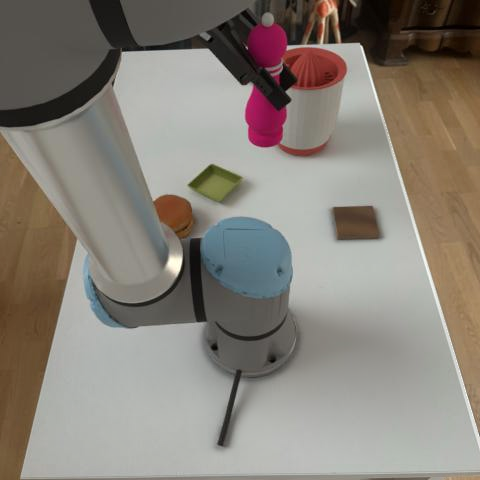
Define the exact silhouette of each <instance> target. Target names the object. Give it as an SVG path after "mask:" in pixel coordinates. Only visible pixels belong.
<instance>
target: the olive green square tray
mask: <svg viewBox="0 0 480 480" xmlns="http://www.w3.org/2000/svg"><path fill="white" fill-rule="evenodd" d="M242 180H243V176H241V175H240V174H237V173H235V172H232V171H230V170H228V169H226V168H223V167H221V166H219V165H217V164H215V163H210V164H209V165H207V166H206V167H205V168H204V169H203V170H202V171H201V172H200V173H198V174H197V175H196V176H195V177H194V178H193V179H192V180H191V181H189V182H188V183H187V187H188V188H189V189H190V190H192V191H193V192H196V193H197V194H200V195H202V196H204V197H206V198H208V199H210V200H212V201H214V202H216V203H220V202H222V200H224V198H225V197H227V196H228V195H229V194H230V193H231V192H232V191H233V190H234V189H235V187H237V186H238V185H239V184H240V183H241V182H242Z"/></svg>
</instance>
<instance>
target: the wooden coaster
mask: <svg viewBox="0 0 480 480" xmlns="http://www.w3.org/2000/svg"><path fill="white" fill-rule="evenodd" d="M331 211H332V218H333V224H334V229H335V235H336V240H338V241H340V240H370V239H371V240H372V239H373V240H374V239H379V238H380V231H379V227H378V223H377V217H376V214H375V209H374V206H373V205H355V206H354V205H353V206H351V205H350V206H333V207H332V210H331Z"/></svg>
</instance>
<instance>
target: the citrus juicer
mask: <svg viewBox="0 0 480 480" xmlns="http://www.w3.org/2000/svg"><path fill="white" fill-rule="evenodd" d="M282 59H283V62H284V63H285V64H286V66H287V67H288V68H289V69H290V70H291V72H292V73H293V74H294V75H295V76H296V78H297V79H298V81H297V82H296V83H295V84H294V85H293V86H292V87H290V88H289V89H288V90H287V91H286V93H287V94H288V95H289V97H290V98H291V99H292V100H291V102H290V103H289V104H288V105H286V108H287V118H286V121H285V123H284V124H283V138H282V140H281V142H280V143H279V144H277V145H276V146H278V148H279V149H281V150H282V151H283V152H285V153H287V154H289V155H294V156H299V157H301V156H304V157H305V156H311V155H314V154H317V153H319V152H320V151H322V150H323V149H324V148H325V147H326V145H327V144H328V142H329V141H330V139H331V137H332V133H333V131H334V129H335V126H336V124H337V121H338V117H339V113H340V107H341V100H342V95H343V89H344V83H345V77H346V75H347V74H348V66H347V63H346V61H345V60H344V58H342V57H341V56H340V55H339V54H337V53H336V52H333V51H331V50H328V49H325V48H320V47H314V46H313V47H312V46H311V47H310V46H303V47H295V48H290V49H287V50H286V52H285V54H284V56H283V57H282Z"/></svg>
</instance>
